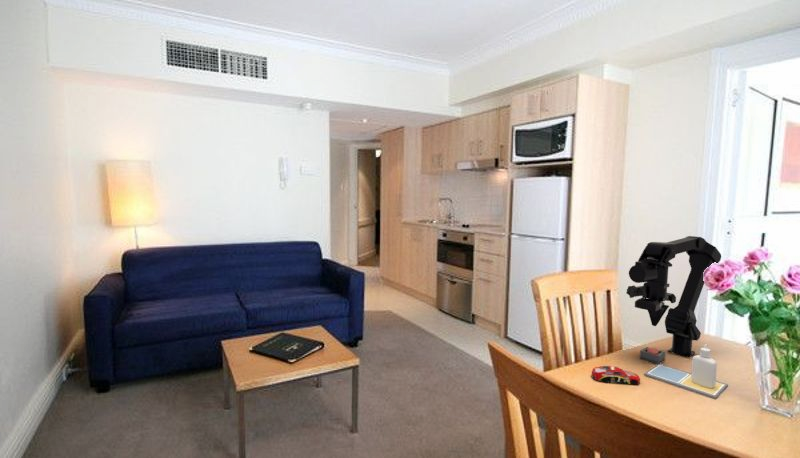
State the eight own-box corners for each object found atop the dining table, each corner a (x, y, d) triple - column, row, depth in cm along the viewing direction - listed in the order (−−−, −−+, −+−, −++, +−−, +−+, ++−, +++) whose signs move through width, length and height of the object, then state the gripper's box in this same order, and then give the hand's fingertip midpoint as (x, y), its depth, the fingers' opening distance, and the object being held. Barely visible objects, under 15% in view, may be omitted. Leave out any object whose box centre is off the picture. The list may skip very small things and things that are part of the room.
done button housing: (646, 355, 138) (646, 346, 138) (664, 360, 134) (665, 351, 134) (639, 359, 135) (640, 350, 135) (658, 364, 130) (658, 356, 130)
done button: (649, 352, 136) (649, 346, 136) (659, 355, 134) (659, 349, 134) (645, 354, 135) (645, 349, 134) (655, 357, 132) (656, 352, 132)
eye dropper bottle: (703, 379, 119) (706, 341, 117) (717, 389, 113) (720, 348, 112) (688, 379, 119) (691, 340, 118) (701, 388, 113) (704, 348, 112)
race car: (636, 379, 121) (637, 366, 121) (643, 387, 116) (644, 374, 116) (589, 374, 124) (590, 362, 124) (594, 382, 119) (595, 369, 118)
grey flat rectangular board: (658, 365, 130) (658, 363, 130) (727, 386, 116) (728, 384, 116) (643, 375, 123) (643, 373, 123) (715, 399, 109) (715, 396, 109)
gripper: (642, 272, 144) (639, 314, 145) (619, 279, 132) (616, 324, 134) (677, 278, 135) (674, 322, 137) (656, 285, 124) (653, 334, 125)
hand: (654, 325), depth 133 cm, fingers closed
